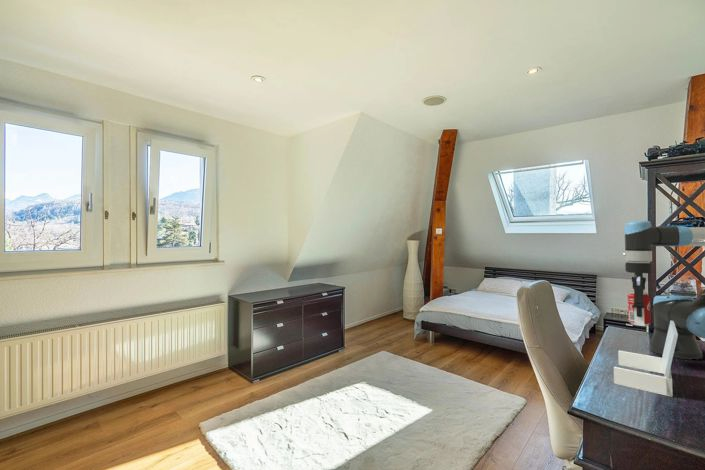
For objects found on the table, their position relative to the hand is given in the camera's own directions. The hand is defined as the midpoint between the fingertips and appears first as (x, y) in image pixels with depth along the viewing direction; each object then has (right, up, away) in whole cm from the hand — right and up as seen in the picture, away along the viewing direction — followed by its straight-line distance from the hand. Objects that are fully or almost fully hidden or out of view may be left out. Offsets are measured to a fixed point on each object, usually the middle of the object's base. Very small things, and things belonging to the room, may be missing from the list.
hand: (639, 323), depth 120 cm
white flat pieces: (-13, -14, -14) cm, 24 cm away
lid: (-8, -2, -19) cm, 20 cm away
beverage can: (0, -1, 0) cm, 1 cm away
